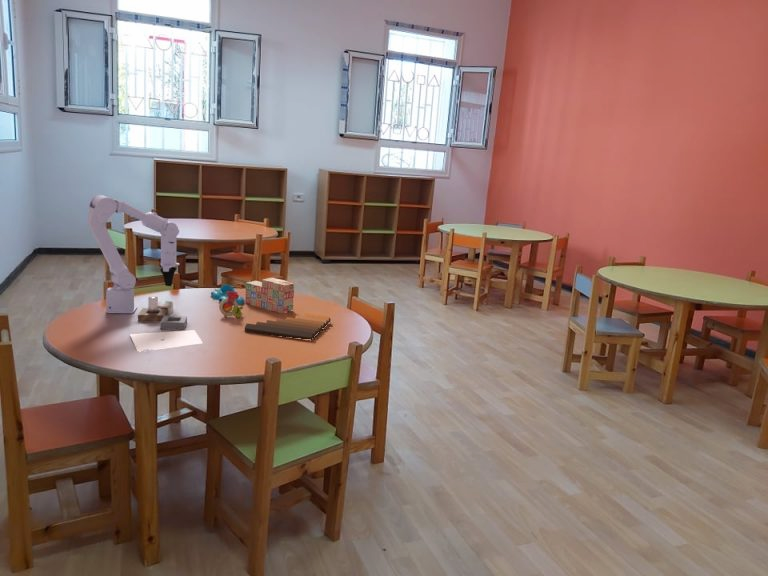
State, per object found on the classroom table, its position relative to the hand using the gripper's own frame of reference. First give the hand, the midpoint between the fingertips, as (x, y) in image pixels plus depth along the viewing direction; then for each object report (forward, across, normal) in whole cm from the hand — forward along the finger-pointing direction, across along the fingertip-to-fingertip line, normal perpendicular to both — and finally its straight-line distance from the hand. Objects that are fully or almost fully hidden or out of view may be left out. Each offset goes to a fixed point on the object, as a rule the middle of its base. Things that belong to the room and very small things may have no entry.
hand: (168, 285), depth 228 cm
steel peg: (+8, -18, +3) cm, 20 cm away
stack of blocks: (+9, +2, -40) cm, 40 cm away
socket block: (+8, -18, +3) cm, 20 cm away
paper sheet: (+9, -48, -7) cm, 50 cm away
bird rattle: (+9, -13, -25) cm, 30 cm away
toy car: (+9, +12, -22) cm, 27 cm away
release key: (+8, -9, 0) cm, 12 cm away
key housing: (+8, -9, 0) cm, 13 cm away
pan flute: (+9, -26, -47) cm, 54 cm away
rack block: (+8, -26, -6) cm, 28 cm away
